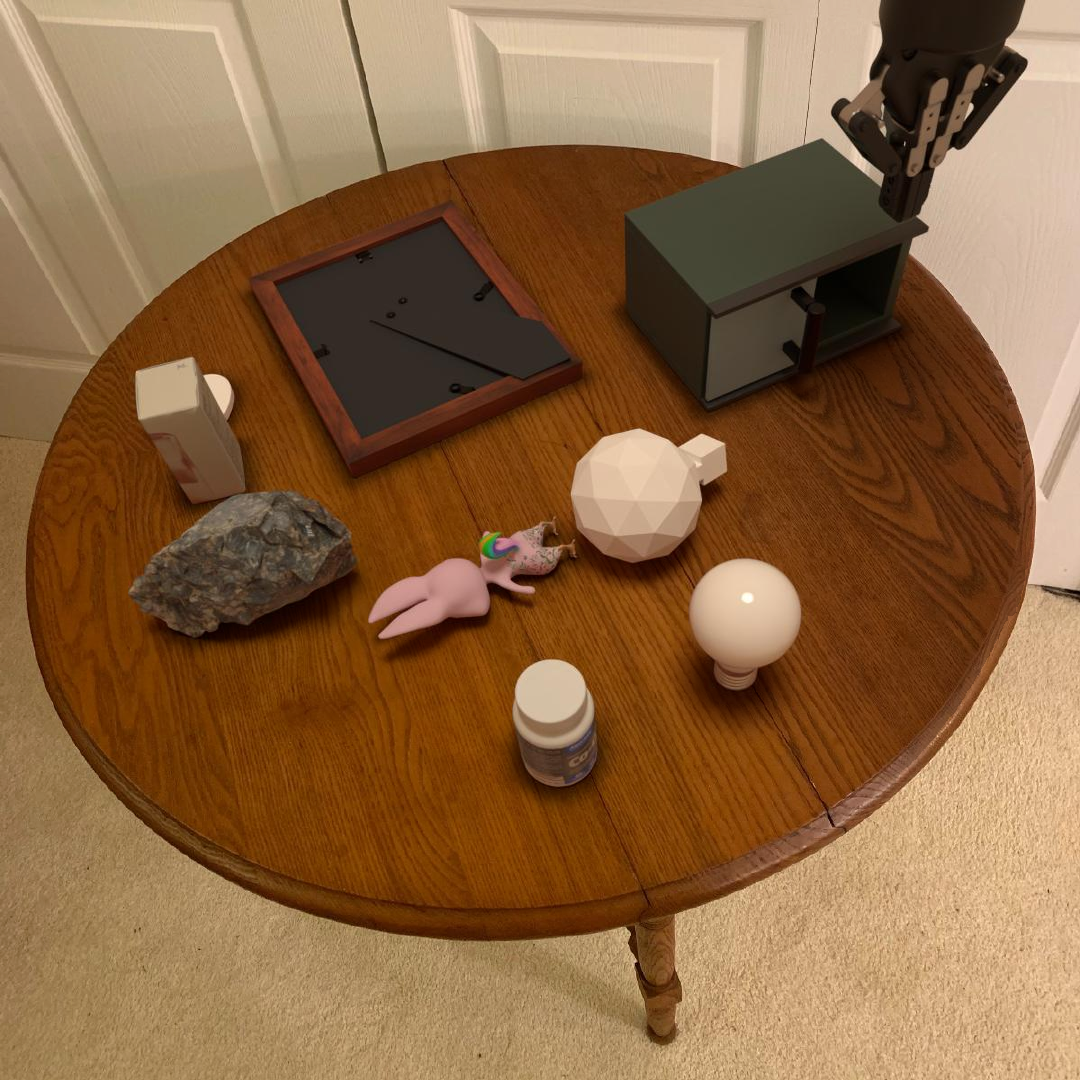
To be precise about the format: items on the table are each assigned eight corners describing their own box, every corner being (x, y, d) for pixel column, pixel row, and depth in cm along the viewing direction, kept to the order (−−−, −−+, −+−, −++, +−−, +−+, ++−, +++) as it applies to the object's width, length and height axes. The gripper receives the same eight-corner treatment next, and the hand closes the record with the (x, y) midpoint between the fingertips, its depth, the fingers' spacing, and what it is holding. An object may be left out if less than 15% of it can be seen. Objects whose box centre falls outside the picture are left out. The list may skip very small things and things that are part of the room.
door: (825, 385, 77) (843, 301, 70) (729, 427, 75) (738, 345, 68) (799, 357, 79) (814, 273, 72) (704, 398, 77) (711, 315, 70)
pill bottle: (584, 797, 60) (578, 740, 53) (511, 776, 61) (495, 716, 54) (607, 728, 63) (603, 664, 56) (536, 708, 64) (524, 643, 57)
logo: (238, 426, 80) (229, 360, 85) (235, 420, 79) (226, 353, 84) (158, 447, 80) (153, 379, 84) (154, 440, 79) (150, 372, 83)
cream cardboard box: (186, 459, 79) (134, 367, 71) (241, 445, 79) (196, 353, 71) (189, 509, 76) (135, 419, 68) (246, 495, 76) (199, 404, 68)
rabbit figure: (539, 528, 74) (354, 611, 68) (544, 471, 69) (346, 555, 63) (587, 585, 70) (397, 678, 65) (595, 530, 66) (392, 625, 60)
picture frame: (583, 377, 80) (454, 215, 94) (581, 359, 79) (450, 197, 92) (353, 478, 76) (253, 293, 90) (347, 461, 75) (246, 275, 88)
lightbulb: (663, 676, 64) (667, 584, 55) (729, 616, 67) (743, 518, 58) (739, 741, 61) (756, 655, 52) (805, 676, 64) (832, 582, 55)
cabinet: (900, 329, 81) (929, 226, 72) (707, 412, 77) (715, 314, 69) (805, 240, 88) (822, 137, 80) (625, 312, 84) (623, 212, 76)
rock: (198, 709, 66) (136, 633, 58) (143, 607, 71) (79, 524, 63) (383, 598, 70) (349, 512, 62) (318, 509, 75) (279, 419, 67)
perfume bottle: (635, 608, 65) (763, 524, 70) (617, 492, 60) (757, 410, 65) (555, 556, 71) (677, 482, 76) (532, 447, 66) (665, 375, 71)
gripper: (909, 0, 49) (850, 279, 63) (1120, -76, 52) (1019, 209, 66) (819, -58, 53) (783, 216, 67) (1019, -125, 56) (943, 153, 70)
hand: (899, 212), depth 66 cm, fingers closed
